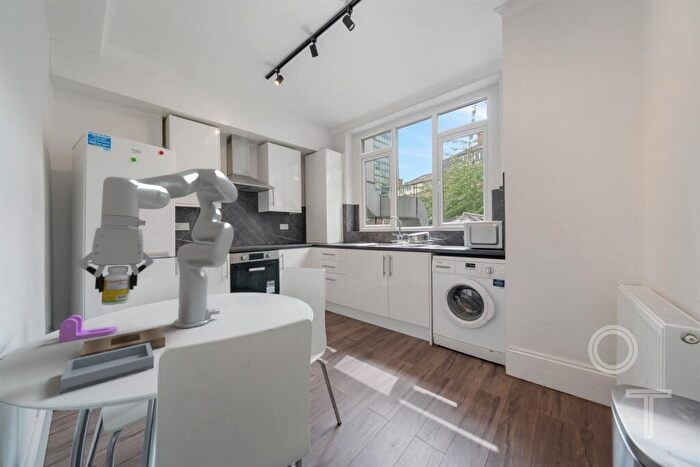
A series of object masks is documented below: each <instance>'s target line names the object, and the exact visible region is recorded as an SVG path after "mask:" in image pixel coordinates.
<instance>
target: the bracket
mask: <svg viewBox="0 0 700 467" xmlns="http://www.w3.org/2000/svg"><path fill="white" fill-rule="evenodd" d="M83 322H84V320H83V316H81V315H79V314H73V315H71V316H69V317H68V318H67V319H64V320H63V321H61V323H60V324H59V331H58V332H59V334H58V343H63V342H71V341H77V340H83V339H91V338H97V337H98V338H99V337H105V336H111V335H114V334H115V333H117V331H118V327H117V326H107V327H105V326H104V327H98V328H89V329H83V327H84V326H83V324H84V323H83Z"/></svg>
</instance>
